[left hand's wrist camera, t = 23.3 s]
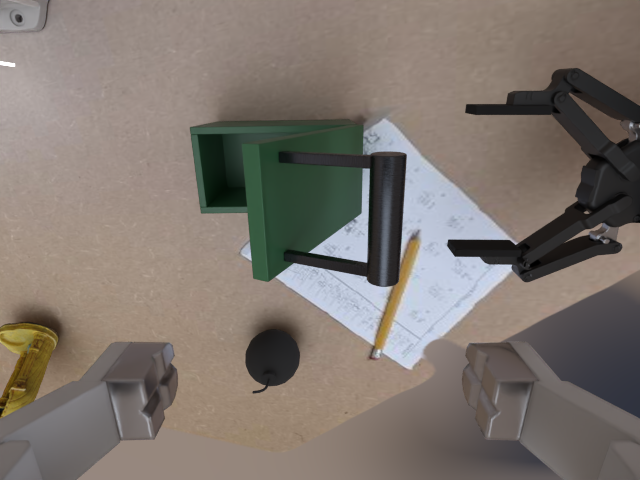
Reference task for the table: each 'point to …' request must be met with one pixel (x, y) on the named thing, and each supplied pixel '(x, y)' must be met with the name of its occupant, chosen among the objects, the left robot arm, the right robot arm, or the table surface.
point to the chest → (236, 157)
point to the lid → (322, 202)
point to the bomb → (272, 358)
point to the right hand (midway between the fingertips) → (459, 183)
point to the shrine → (26, 362)
